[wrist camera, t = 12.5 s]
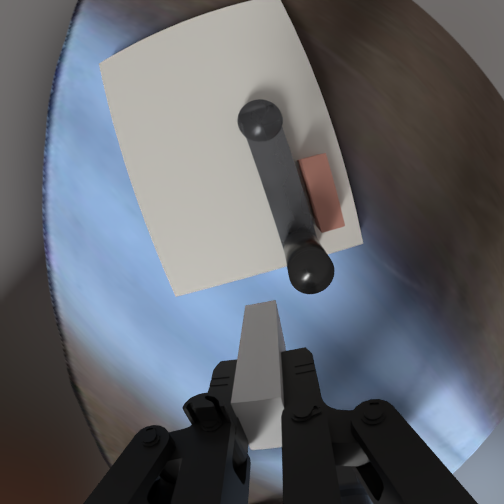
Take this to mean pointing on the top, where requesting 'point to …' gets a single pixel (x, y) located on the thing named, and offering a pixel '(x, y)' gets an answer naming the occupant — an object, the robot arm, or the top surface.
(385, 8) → the top surface
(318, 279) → the swing bar
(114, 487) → the robot arm
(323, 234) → the board
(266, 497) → the top surface
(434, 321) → the top surface
